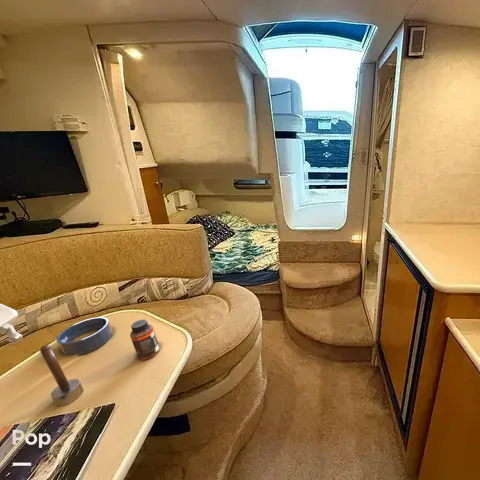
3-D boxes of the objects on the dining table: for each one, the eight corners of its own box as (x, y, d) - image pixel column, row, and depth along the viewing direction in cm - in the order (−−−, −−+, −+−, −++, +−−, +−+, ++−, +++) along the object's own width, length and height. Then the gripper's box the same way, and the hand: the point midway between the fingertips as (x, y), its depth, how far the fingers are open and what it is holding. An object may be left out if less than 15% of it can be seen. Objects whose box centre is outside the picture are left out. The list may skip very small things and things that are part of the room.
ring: (54, 352, 86) (47, 338, 85) (99, 326, 98) (94, 314, 96) (77, 362, 81) (71, 347, 79) (122, 334, 93) (117, 321, 91)
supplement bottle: (164, 349, 84) (154, 319, 80) (146, 363, 79) (135, 331, 75) (152, 344, 87) (142, 315, 83) (134, 357, 82) (122, 327, 78)
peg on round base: (50, 402, 68) (22, 351, 63) (76, 384, 73) (52, 336, 68) (62, 409, 66) (34, 357, 61) (88, 390, 71) (64, 341, 66)
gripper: (-137, 349, 48) (-47, 382, 52) (-16, 290, 67) (43, 317, 71) (-149, 372, 49) (-59, 402, 53) (-27, 307, 68) (32, 333, 72)
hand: (0, 353), depth 62 cm, fingers open, 8 cm apart
